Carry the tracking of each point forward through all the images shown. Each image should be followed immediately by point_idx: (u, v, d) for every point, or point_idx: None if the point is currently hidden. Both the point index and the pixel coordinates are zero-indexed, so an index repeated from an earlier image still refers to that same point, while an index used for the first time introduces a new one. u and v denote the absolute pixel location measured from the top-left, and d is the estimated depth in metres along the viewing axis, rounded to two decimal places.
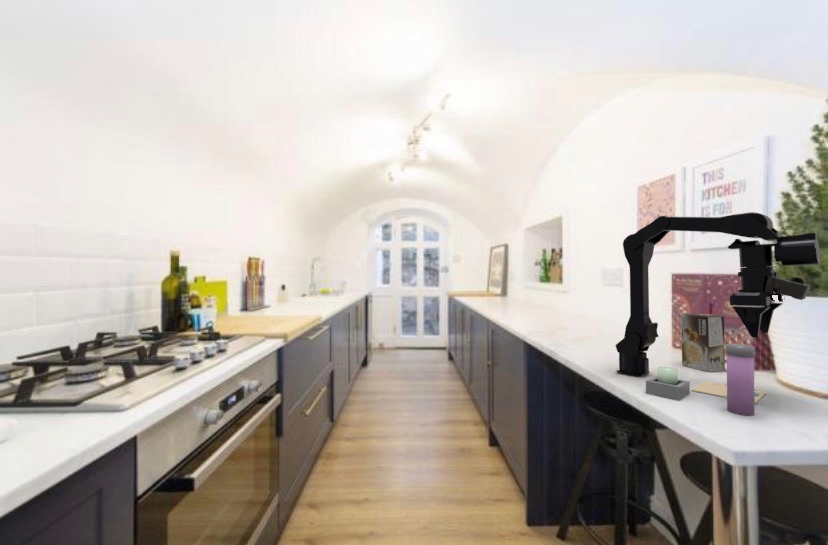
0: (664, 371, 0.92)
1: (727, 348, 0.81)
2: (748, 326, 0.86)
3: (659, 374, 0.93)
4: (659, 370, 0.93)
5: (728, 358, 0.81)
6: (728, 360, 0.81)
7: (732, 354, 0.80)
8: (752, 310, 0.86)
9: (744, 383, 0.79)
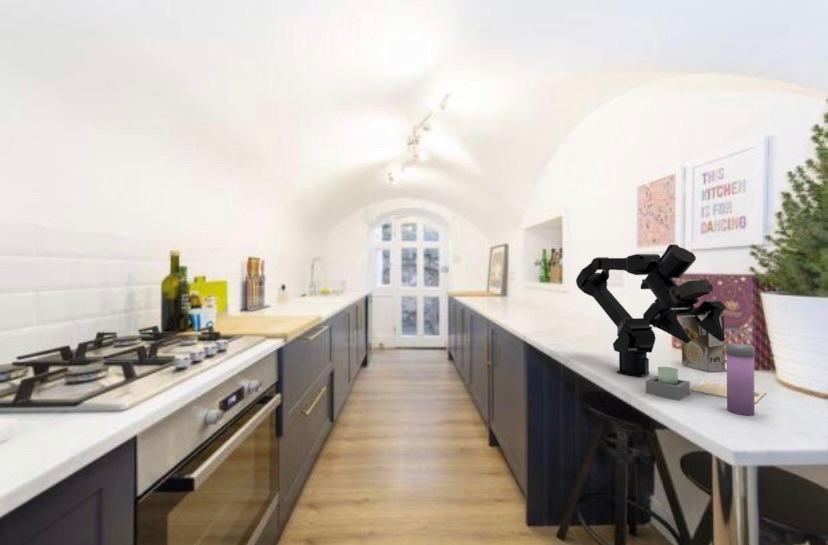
0: (664, 371, 0.92)
1: (727, 348, 0.81)
2: (676, 335, 0.90)
3: (659, 374, 0.93)
4: (659, 370, 0.93)
5: (728, 358, 0.81)
6: (728, 360, 0.81)
7: (732, 354, 0.80)
8: (669, 320, 0.92)
9: (744, 383, 0.79)
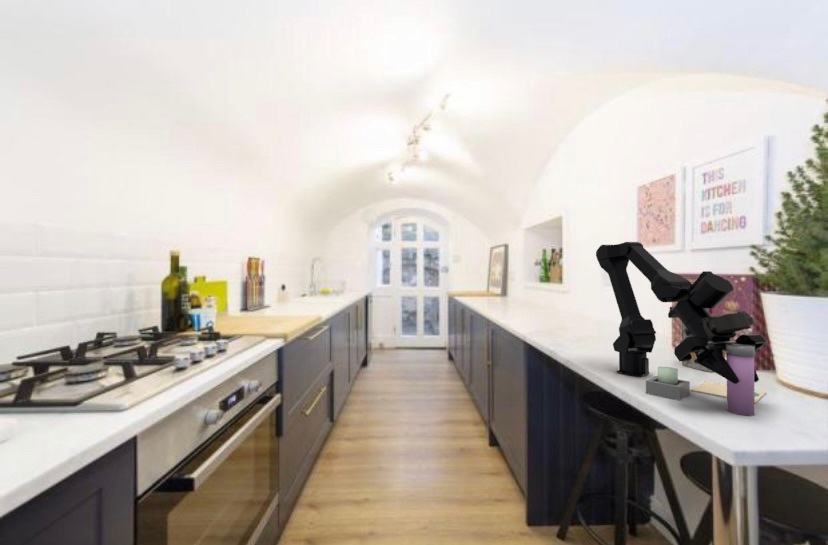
0: (664, 371, 0.92)
1: (727, 348, 0.81)
2: (722, 373, 0.81)
3: (659, 374, 0.93)
4: (659, 370, 0.93)
5: (728, 358, 0.81)
6: (728, 360, 0.81)
7: (732, 354, 0.80)
8: (713, 357, 0.83)
9: (744, 383, 0.79)
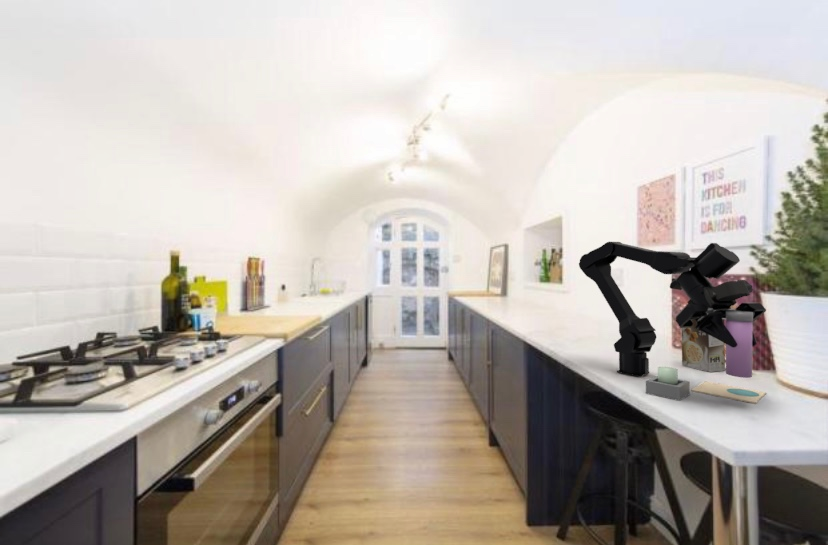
0: (664, 371, 0.92)
1: (727, 314, 0.85)
2: (722, 338, 0.85)
3: (659, 374, 0.93)
4: (659, 370, 0.93)
5: (727, 324, 0.85)
6: (727, 325, 0.85)
7: (731, 319, 0.84)
8: (713, 323, 0.87)
9: (742, 347, 0.83)
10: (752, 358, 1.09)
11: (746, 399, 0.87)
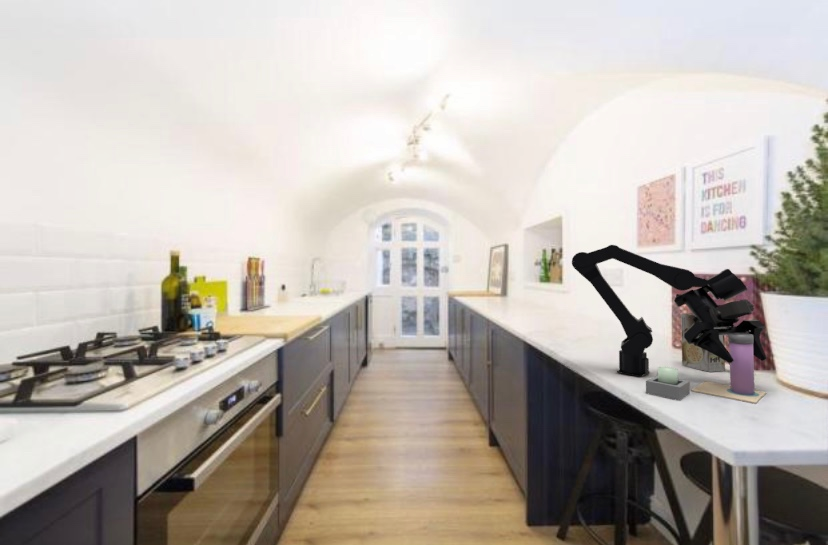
0: (664, 371, 0.92)
1: (729, 337, 0.93)
2: (719, 354, 0.92)
3: (659, 374, 0.93)
4: (659, 370, 0.93)
5: (730, 345, 0.93)
6: (730, 347, 0.93)
7: (734, 342, 0.92)
8: (710, 340, 0.94)
9: (745, 367, 0.90)
10: None
11: (746, 399, 0.87)
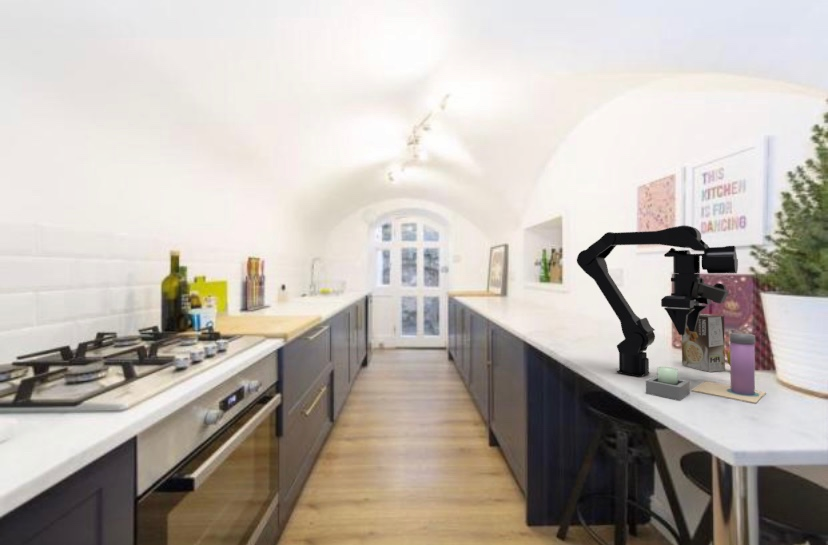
0: (664, 371, 0.92)
1: (731, 337, 0.93)
2: (677, 325, 0.99)
3: (659, 374, 0.93)
4: (659, 370, 0.93)
5: (732, 345, 0.93)
6: (732, 347, 0.93)
7: (735, 342, 0.92)
8: (680, 311, 0.98)
9: (746, 367, 0.90)
10: None
11: (746, 399, 0.87)
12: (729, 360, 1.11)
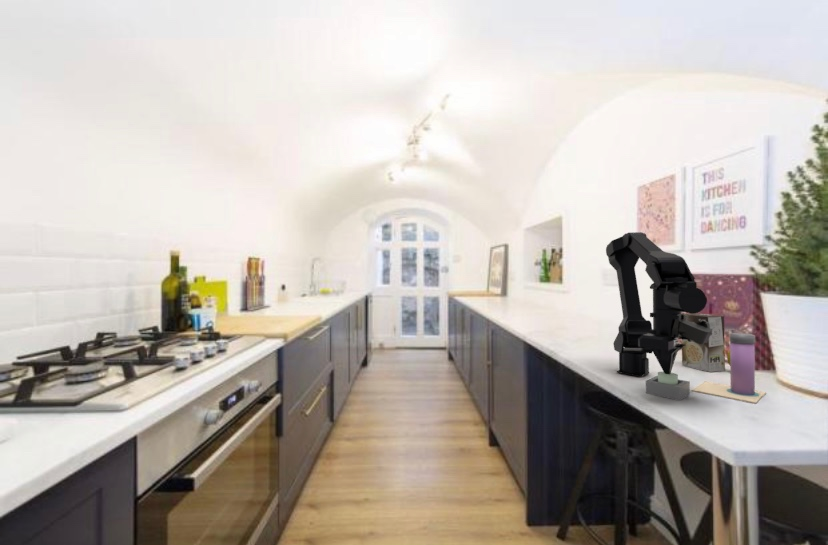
0: (664, 376, 0.92)
1: (731, 337, 0.93)
2: (662, 363, 0.93)
3: (659, 379, 0.93)
4: (659, 375, 0.93)
5: (732, 345, 0.93)
6: (732, 347, 0.93)
7: (735, 342, 0.92)
8: (665, 349, 0.92)
9: (746, 367, 0.90)
10: None
11: (746, 399, 0.87)
12: (729, 360, 1.11)
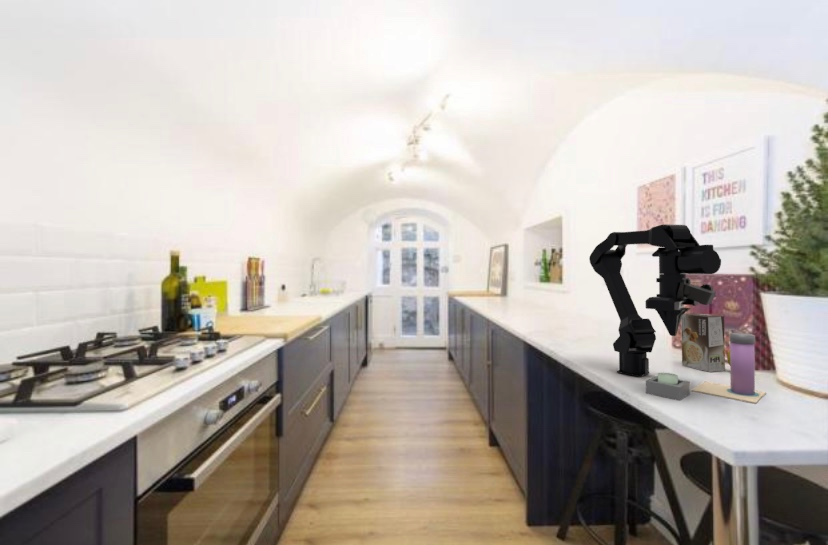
0: (664, 377, 0.92)
1: (731, 337, 0.93)
2: (668, 325, 0.98)
3: (659, 380, 0.93)
4: (659, 376, 0.93)
5: (731, 345, 0.93)
6: (731, 347, 0.93)
7: (735, 342, 0.92)
8: (671, 312, 0.97)
9: (746, 367, 0.90)
10: None
11: (746, 399, 0.87)
12: (729, 360, 1.11)
